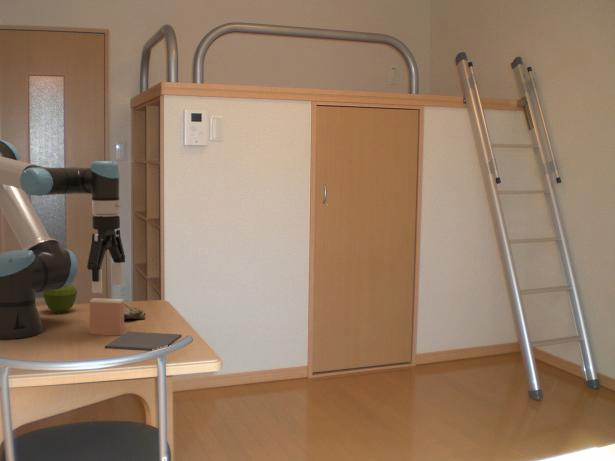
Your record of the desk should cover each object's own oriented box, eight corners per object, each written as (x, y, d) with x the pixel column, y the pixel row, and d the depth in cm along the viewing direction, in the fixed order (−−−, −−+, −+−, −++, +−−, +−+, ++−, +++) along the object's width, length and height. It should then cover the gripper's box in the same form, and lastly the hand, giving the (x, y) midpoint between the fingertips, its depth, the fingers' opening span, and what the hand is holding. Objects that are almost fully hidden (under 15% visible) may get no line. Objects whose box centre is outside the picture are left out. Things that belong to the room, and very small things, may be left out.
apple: (67, 316, 223) (66, 285, 222) (36, 314, 225) (36, 284, 224) (83, 309, 234) (82, 279, 233) (54, 307, 235) (53, 278, 234)
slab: (90, 334, 201) (89, 300, 200) (94, 331, 204) (94, 298, 203) (120, 335, 200) (119, 301, 199) (124, 333, 203) (123, 299, 202)
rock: (145, 322, 217) (145, 308, 217) (108, 323, 215) (108, 309, 214) (145, 315, 227) (145, 302, 227) (110, 316, 225) (110, 303, 224)
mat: (104, 347, 186) (104, 345, 186) (128, 333, 202) (128, 331, 202) (162, 351, 184) (162, 349, 184) (181, 336, 200) (181, 334, 200)
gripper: (99, 218, 186) (101, 296, 188) (135, 212, 210) (136, 281, 212) (73, 218, 187) (75, 296, 189) (111, 212, 211) (113, 281, 213)
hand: (107, 288), depth 200 cm, fingers open, 13 cm apart
